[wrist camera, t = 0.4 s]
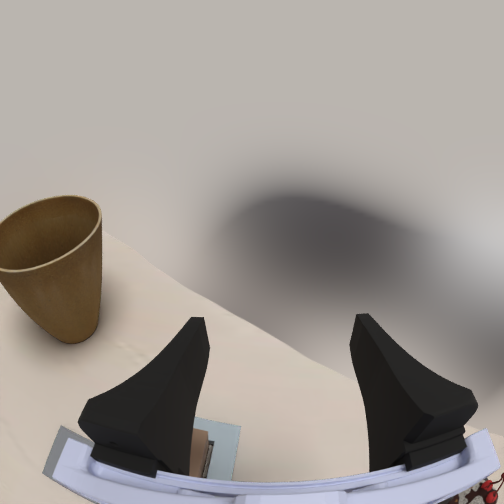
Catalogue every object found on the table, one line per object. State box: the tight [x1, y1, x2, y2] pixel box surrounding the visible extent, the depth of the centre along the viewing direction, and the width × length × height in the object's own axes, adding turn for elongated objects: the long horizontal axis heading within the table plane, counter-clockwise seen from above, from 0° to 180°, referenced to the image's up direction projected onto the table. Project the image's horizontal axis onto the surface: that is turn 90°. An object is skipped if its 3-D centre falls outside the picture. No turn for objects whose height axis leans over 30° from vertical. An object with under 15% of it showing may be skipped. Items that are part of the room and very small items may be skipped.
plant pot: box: [0, 195, 102, 344], centre depth 28 cm, size 15×15×16 cm
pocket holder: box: [193, 417, 241, 497], centre depth 21 cm, size 10×10×2 cm
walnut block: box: [189, 428, 209, 478], centre depth 19 cm, size 4×4×7 cm
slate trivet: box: [42, 426, 99, 504], centre depth 17 cm, size 7×7×1 cm
